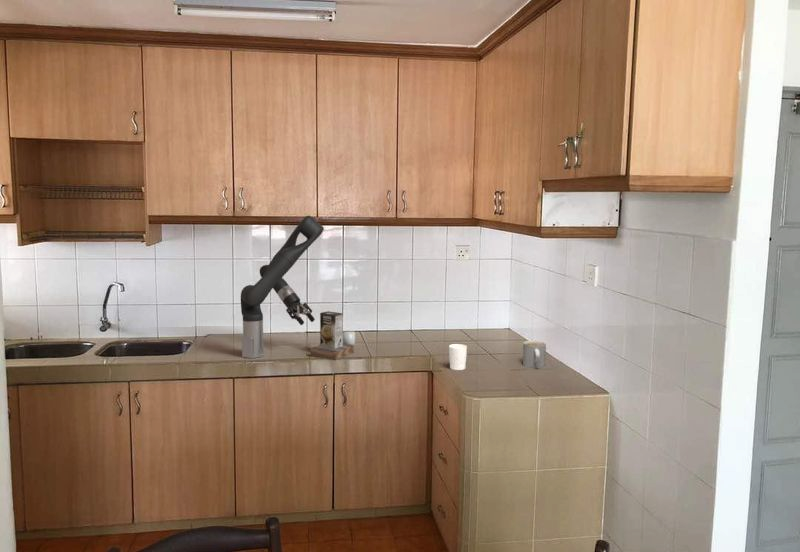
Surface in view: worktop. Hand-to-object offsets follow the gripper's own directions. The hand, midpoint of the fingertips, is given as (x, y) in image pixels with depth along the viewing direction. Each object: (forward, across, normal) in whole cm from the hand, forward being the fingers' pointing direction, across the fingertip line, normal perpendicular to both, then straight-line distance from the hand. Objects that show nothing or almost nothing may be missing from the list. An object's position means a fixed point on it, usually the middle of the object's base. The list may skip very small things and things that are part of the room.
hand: (308, 322), depth 312 cm
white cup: (+63, +8, -43) cm, 77 cm away
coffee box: (+17, 0, -2) cm, 17 cm away
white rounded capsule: (+20, +15, 0) cm, 25 cm away
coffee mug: (+83, +28, -63) cm, 108 cm away
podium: (+20, 0, 0) cm, 20 cm away
